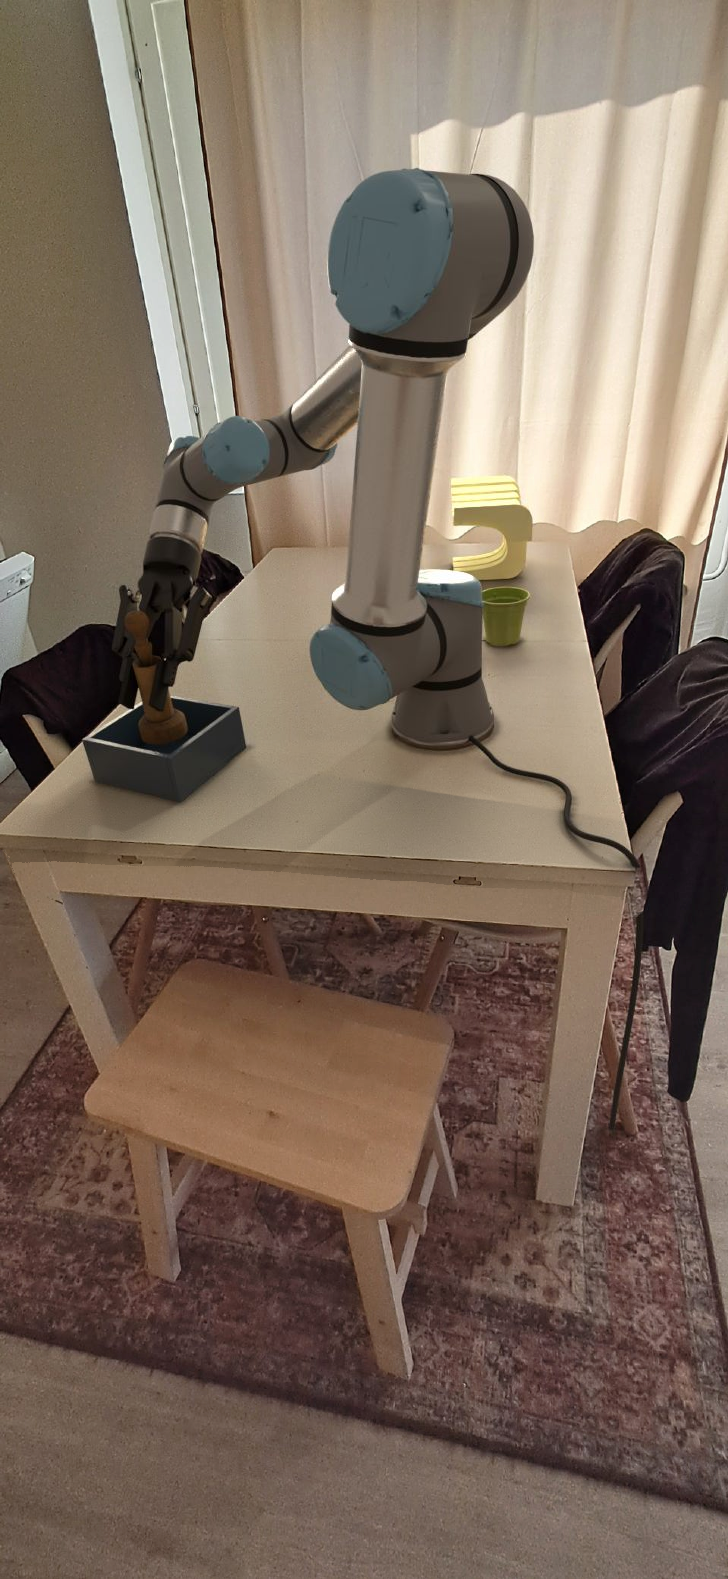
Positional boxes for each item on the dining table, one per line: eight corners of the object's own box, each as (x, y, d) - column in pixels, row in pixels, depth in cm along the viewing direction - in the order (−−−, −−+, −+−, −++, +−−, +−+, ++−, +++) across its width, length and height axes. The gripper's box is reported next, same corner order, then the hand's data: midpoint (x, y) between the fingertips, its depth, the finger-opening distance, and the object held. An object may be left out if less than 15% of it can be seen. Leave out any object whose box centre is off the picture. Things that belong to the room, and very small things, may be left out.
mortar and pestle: (176, 746, 106) (146, 621, 96) (133, 744, 107) (99, 621, 97) (194, 723, 111) (167, 602, 101) (153, 722, 112) (123, 603, 103)
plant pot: (470, 648, 139) (470, 602, 135) (484, 629, 146) (484, 585, 142) (522, 652, 136) (523, 605, 131) (533, 633, 143) (535, 587, 138)
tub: (246, 747, 114) (239, 706, 110) (180, 802, 102) (170, 758, 99) (165, 731, 120) (155, 692, 117) (94, 781, 109) (81, 739, 105)
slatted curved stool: (529, 589, 164) (533, 503, 155) (455, 593, 166) (453, 508, 156) (516, 550, 189) (519, 474, 180) (452, 554, 191) (450, 478, 181)
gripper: (241, 561, 108) (210, 720, 104) (136, 560, 113) (102, 711, 108) (218, 533, 101) (183, 702, 97) (107, 533, 106) (69, 694, 101)
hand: (140, 706), depth 103 cm, fingers closed on mortar and pestle, 4 cm apart
